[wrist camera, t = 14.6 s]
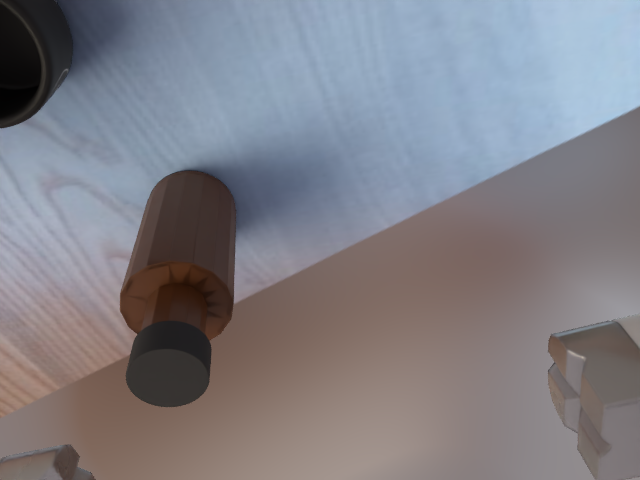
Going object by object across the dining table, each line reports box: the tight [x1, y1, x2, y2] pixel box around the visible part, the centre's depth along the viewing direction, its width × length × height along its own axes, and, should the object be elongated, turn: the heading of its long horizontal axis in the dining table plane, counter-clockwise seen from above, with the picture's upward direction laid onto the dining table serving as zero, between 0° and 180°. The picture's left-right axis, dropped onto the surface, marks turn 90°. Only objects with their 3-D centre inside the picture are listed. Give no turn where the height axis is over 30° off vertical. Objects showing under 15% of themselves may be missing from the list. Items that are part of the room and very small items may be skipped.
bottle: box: [120, 171, 236, 341], centre depth 42 cm, size 7×7×17 cm
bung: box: [126, 321, 211, 407], centre depth 35 cm, size 5×5×4 cm
